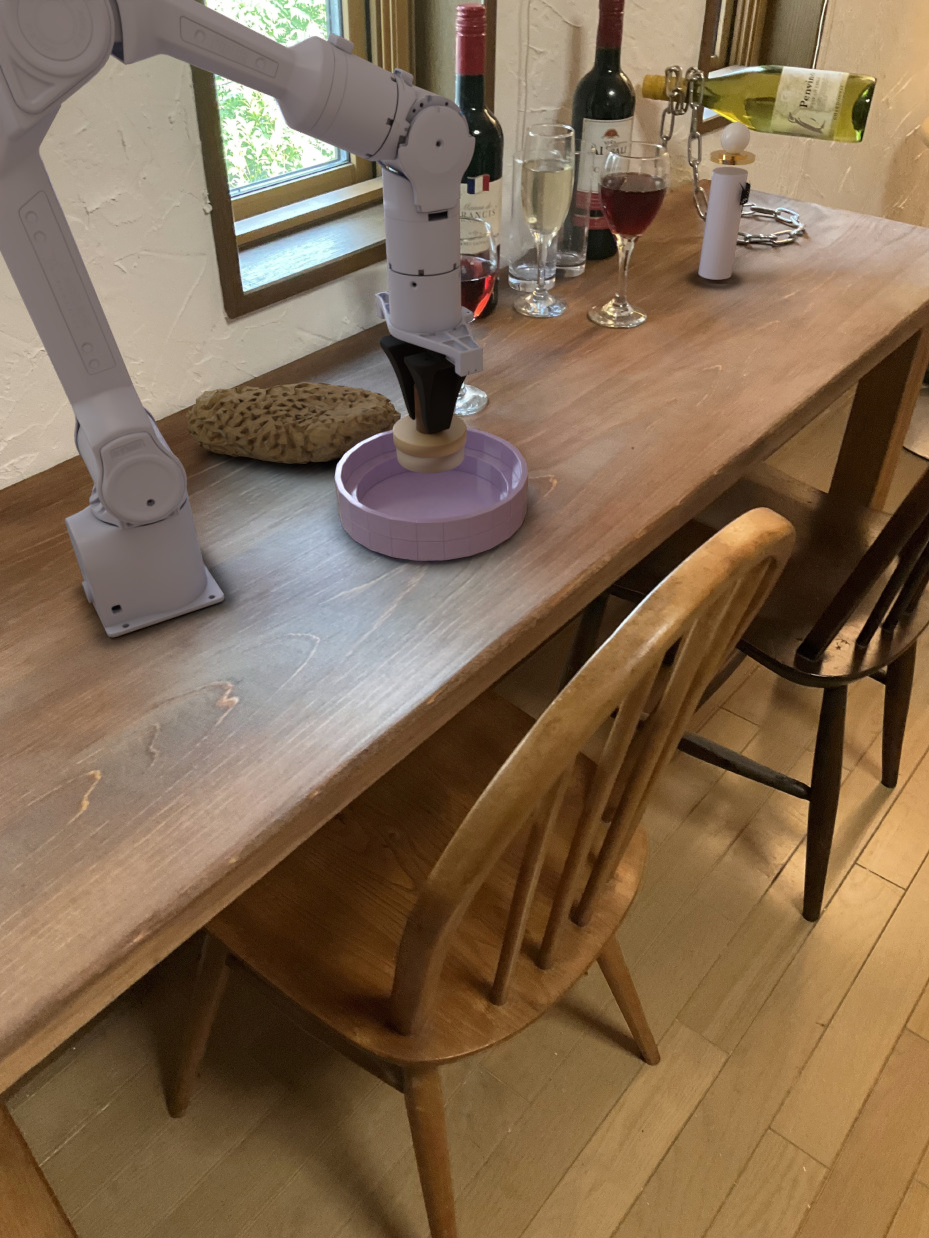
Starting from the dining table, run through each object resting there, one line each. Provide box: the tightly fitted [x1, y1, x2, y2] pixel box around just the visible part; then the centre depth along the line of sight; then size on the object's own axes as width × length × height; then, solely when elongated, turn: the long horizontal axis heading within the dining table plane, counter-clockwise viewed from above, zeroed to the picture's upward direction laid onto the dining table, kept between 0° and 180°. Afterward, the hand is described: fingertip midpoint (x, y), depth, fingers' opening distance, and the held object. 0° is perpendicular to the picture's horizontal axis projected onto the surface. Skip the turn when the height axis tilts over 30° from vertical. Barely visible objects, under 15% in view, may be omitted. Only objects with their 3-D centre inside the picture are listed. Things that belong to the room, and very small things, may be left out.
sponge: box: [185, 381, 402, 465], centre depth 96 cm, size 13×8×20 cm
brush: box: [393, 384, 467, 473], centre depth 83 cm, size 6×6×7 cm
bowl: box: [333, 426, 529, 562], centre depth 87 cm, size 17×17×4 cm
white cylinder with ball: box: [697, 121, 756, 281], centre depth 128 cm, size 6×6×20 cm
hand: (429, 423), depth 83 cm, fingers closed on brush, 2 cm apart
